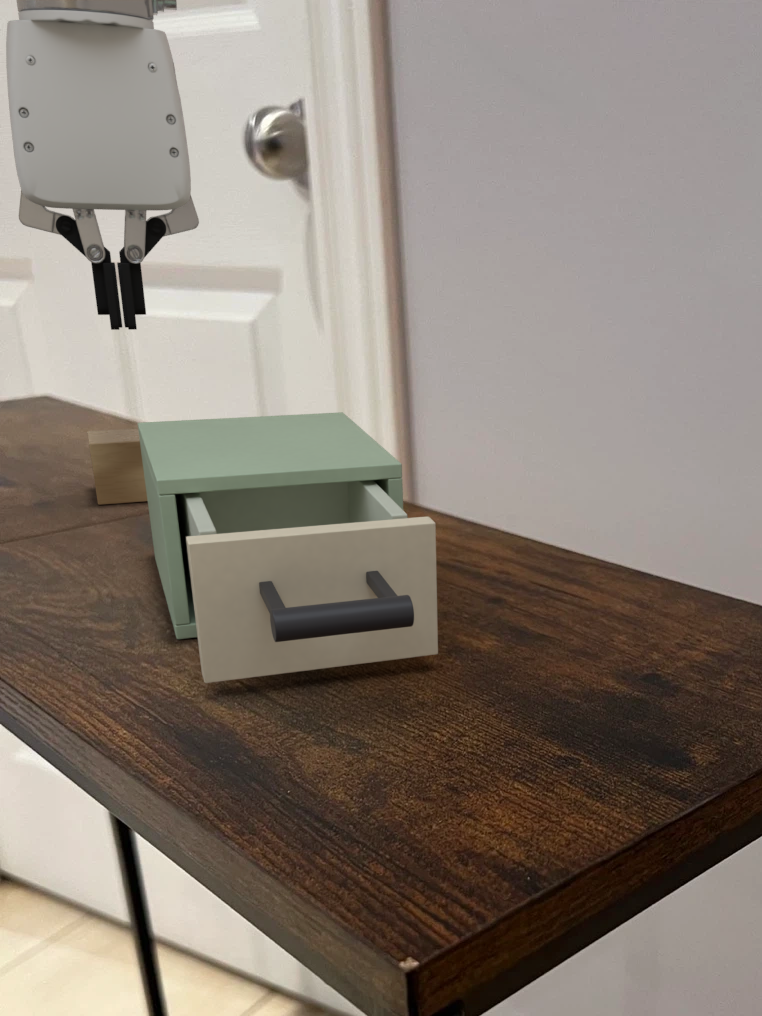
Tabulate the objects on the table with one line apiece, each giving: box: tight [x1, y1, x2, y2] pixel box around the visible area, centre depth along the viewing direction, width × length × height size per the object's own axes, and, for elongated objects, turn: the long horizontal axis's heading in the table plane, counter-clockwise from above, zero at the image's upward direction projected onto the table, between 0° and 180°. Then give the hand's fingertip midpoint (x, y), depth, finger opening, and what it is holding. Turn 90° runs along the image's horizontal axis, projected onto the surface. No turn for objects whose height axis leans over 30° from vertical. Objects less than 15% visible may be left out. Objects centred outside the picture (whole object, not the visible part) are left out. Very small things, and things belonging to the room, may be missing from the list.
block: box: [86, 428, 148, 506], centre depth 86 cm, size 4×4×4 cm
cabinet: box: [137, 412, 404, 640], centre depth 67 cm, size 15×13×9 cm
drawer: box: [179, 480, 439, 684], centre depth 57 cm, size 19×11×7 cm, turn 21°
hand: (123, 326), depth 75 cm, fingers closed
